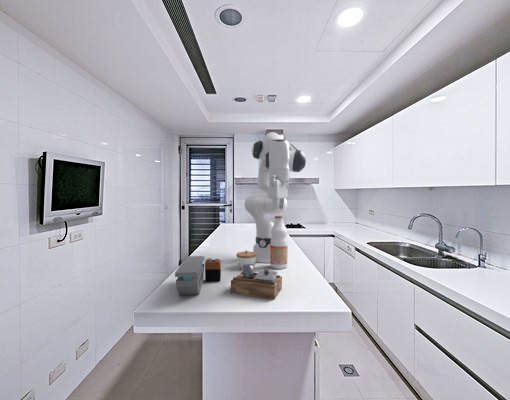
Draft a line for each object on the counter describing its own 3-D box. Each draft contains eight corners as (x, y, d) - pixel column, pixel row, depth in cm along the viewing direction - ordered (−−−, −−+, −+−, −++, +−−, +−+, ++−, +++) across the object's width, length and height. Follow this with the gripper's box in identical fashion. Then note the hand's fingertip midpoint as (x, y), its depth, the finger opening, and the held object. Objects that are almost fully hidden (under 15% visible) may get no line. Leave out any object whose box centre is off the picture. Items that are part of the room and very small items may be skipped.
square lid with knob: (261, 276, 106) (261, 267, 106) (277, 277, 103) (277, 269, 103) (255, 281, 99) (255, 272, 99) (273, 283, 97) (273, 273, 97)
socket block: (242, 283, 111) (242, 270, 111) (281, 288, 106) (281, 274, 105) (230, 293, 100) (230, 278, 100) (274, 299, 94) (274, 284, 94)
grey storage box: (197, 301, 92) (197, 272, 92) (175, 302, 91) (175, 272, 91) (204, 279, 117) (204, 255, 117) (187, 279, 116) (187, 256, 116)
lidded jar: (233, 269, 132) (233, 252, 131) (239, 264, 142) (239, 248, 142) (253, 271, 129) (253, 253, 129) (258, 265, 139) (258, 249, 139)
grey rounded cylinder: (245, 287, 107) (245, 263, 107) (253, 288, 106) (254, 264, 105) (241, 290, 103) (241, 266, 103) (250, 291, 102) (250, 267, 102)
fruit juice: (278, 270, 131) (279, 216, 131) (266, 266, 138) (266, 215, 138) (291, 267, 137) (291, 215, 137) (278, 263, 144) (279, 214, 144)
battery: (206, 278, 117) (206, 257, 117) (220, 278, 118) (220, 257, 117) (204, 282, 113) (204, 259, 113) (220, 282, 113) (220, 259, 113)
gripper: (280, 174, 96) (280, 210, 97) (290, 178, 116) (290, 208, 116) (264, 175, 99) (264, 210, 99) (277, 178, 118) (277, 208, 118)
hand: (278, 209), depth 107 cm, fingers open, 8 cm apart
